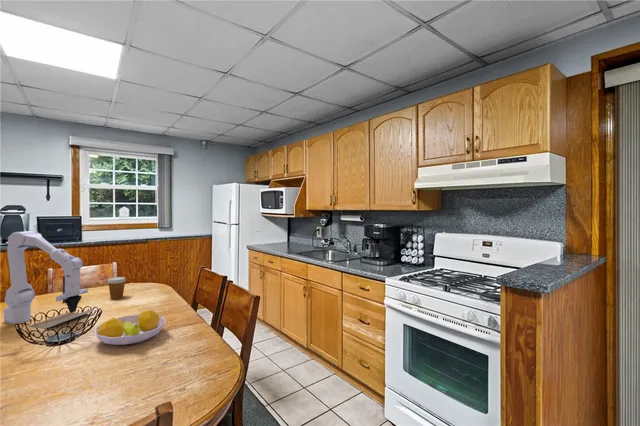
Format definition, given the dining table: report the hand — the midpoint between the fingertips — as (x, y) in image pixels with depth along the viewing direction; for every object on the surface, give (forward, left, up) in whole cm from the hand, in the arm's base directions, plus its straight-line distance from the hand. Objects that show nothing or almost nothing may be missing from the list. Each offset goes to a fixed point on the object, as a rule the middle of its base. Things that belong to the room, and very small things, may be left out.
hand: (72, 311), depth 151 cm
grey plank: (-2, 0, -4) cm, 4 cm away
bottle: (-32, +27, -6) cm, 42 cm away
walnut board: (-10, 0, -6) cm, 12 cm away
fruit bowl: (+39, -9, -6) cm, 41 cm away
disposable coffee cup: (-13, +40, -6) cm, 42 cm away
